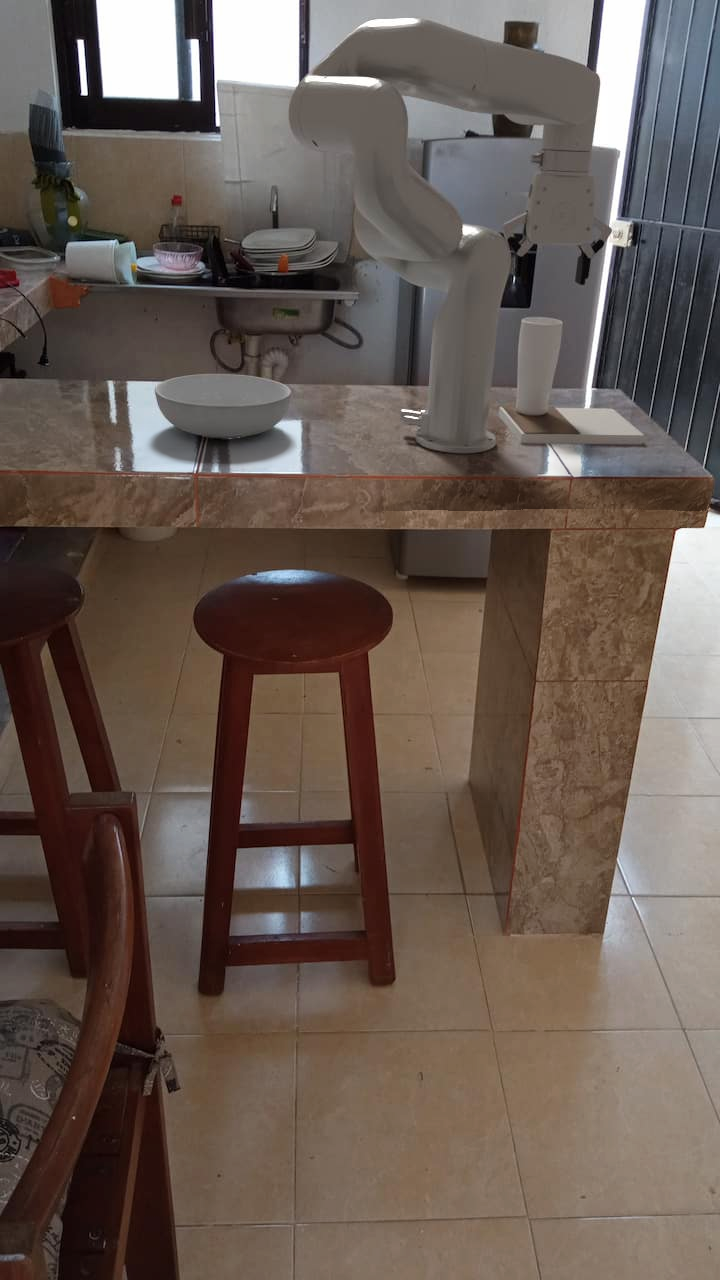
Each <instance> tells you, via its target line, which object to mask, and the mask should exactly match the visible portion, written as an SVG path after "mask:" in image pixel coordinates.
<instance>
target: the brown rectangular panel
mask: <svg viewBox="0 0 720 1280" xmlns="http://www.w3.org/2000/svg"><path fill="white" fill-rule="evenodd" d="M502 407H503V408H504V410H505V411H506V412H507V413H508V414H509V416H510V417H511V418H512V419H513V420H514V422H515V423H516V424H517V425H518V426H519V427H520V429H521V430H522V431H523V432H524V433H525V434H580V432H579V431H578V430H577V429H576V428H575V427H574V426H573V425H572V424H571V423H570V422H569V421H568V420H567V419H566V418H565V417H564V416H563V415H562V414H561V413H560V412H559V411H558V410H557V409H556V408H557V407H555V406H548V411H547V413H546V414H544V415H540V416H529V415H524V414H521V413H519V412H517V410H516V405H513V406H512V405H502Z"/></svg>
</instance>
